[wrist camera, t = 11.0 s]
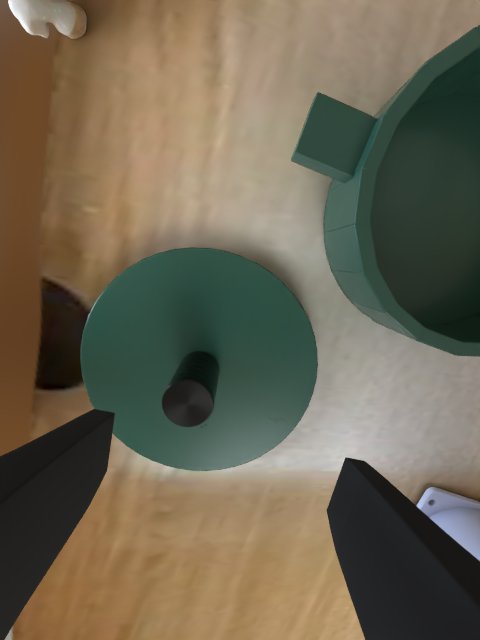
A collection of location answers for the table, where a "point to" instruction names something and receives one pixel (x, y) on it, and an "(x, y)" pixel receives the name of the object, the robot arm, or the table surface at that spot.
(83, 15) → the unicorn figurine
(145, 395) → the lid
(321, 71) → the table surface
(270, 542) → the table surface
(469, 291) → the pot
